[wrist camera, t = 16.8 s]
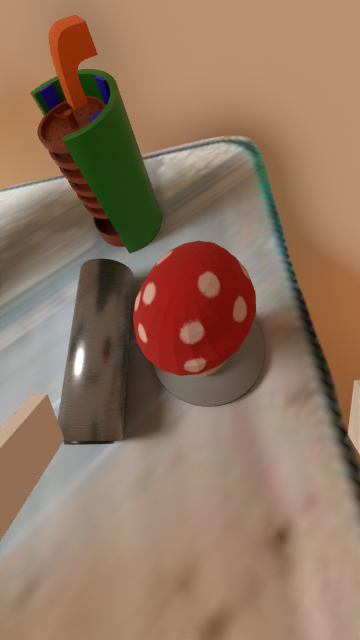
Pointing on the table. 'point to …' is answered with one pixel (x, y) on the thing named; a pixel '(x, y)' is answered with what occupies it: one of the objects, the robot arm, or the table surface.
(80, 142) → the motor
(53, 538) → the table surface
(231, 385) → the rubber mat
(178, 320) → the decorative mushroom
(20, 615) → the table surface
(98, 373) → the metal pipe
